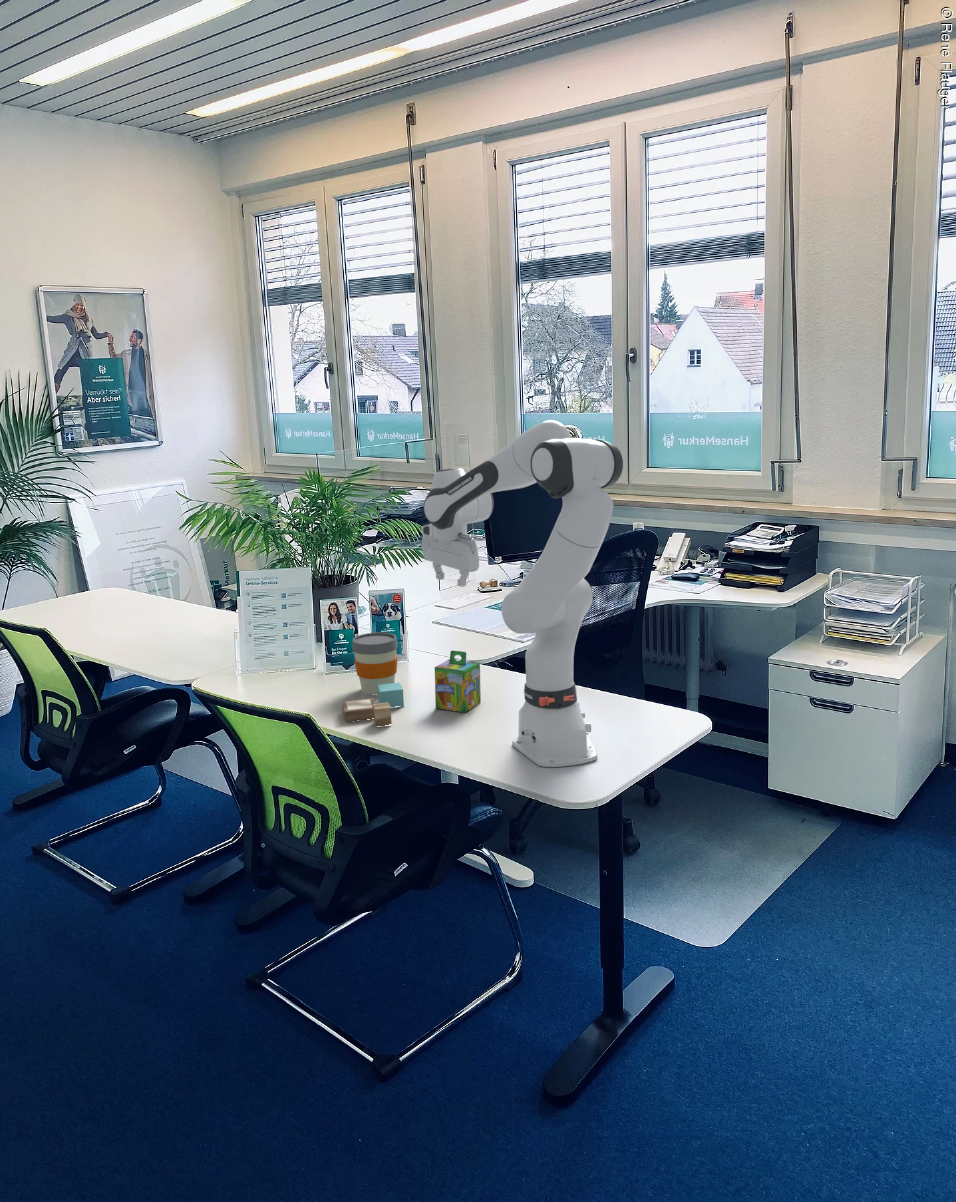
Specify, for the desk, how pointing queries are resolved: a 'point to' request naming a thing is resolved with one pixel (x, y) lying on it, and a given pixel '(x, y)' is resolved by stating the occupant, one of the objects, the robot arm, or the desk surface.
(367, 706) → the walnut slab
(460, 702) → the chalk box
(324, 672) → the desk surface
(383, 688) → the teal block
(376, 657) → the reusable coffee cup
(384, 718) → the oak block
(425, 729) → the desk surface
